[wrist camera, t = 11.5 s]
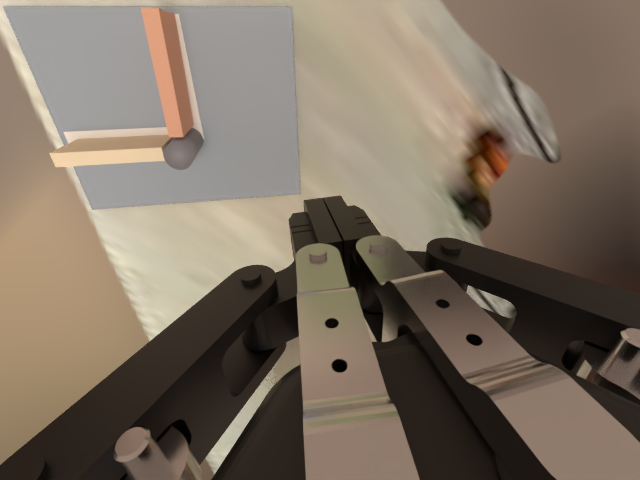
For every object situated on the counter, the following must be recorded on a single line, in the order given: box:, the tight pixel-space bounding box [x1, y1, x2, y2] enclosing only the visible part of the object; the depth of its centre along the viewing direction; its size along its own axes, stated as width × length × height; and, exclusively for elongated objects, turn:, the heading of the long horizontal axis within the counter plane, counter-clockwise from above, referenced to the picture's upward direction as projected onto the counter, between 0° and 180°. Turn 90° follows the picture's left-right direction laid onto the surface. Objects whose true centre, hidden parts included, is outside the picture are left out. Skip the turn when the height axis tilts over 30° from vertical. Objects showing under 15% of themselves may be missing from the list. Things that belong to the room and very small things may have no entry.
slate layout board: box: [3, 7, 300, 210], centre depth 29 cm, size 18×23×6 cm
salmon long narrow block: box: [140, 7, 194, 137], centre depth 27 cm, size 9×1×5 cm, turn 178°
